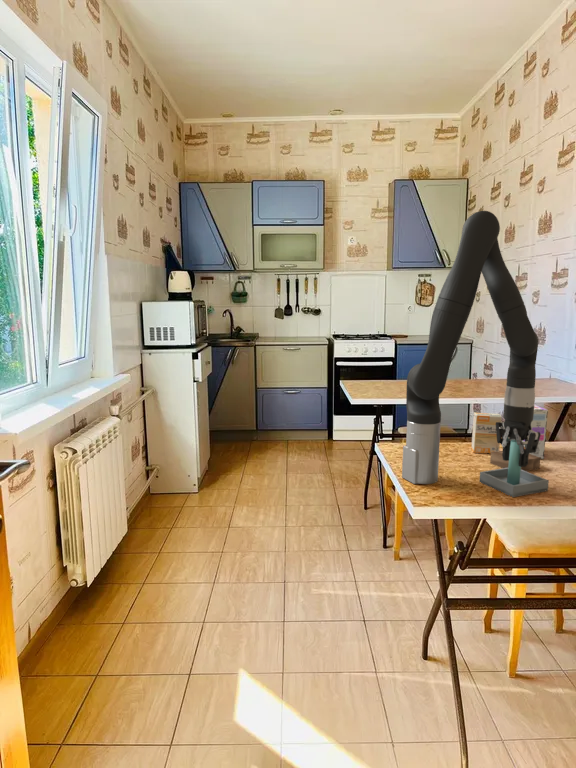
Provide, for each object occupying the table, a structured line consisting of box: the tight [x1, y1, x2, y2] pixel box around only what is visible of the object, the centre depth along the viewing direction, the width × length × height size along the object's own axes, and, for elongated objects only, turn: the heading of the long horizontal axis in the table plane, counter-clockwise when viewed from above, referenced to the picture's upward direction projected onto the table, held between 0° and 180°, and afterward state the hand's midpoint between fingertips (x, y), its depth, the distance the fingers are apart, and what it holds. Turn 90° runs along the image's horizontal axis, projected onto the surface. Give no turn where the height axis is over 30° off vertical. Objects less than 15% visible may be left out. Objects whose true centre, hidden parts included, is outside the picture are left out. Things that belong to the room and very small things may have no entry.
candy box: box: [522, 403, 549, 460], centre depth 179 cm, size 14×6×16 cm, turn 0°
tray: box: [479, 468, 550, 498], centre depth 149 cm, size 12×12×3 cm
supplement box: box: [470, 411, 503, 455], centre depth 180 cm, size 8×5×13 cm, turn 80°
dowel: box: [507, 440, 523, 485], centre depth 148 cm, size 3×3×12 cm
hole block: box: [489, 450, 541, 472], centre depth 166 cm, size 10×10×4 cm
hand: (514, 463), depth 148 cm, fingers open, 5 cm apart
